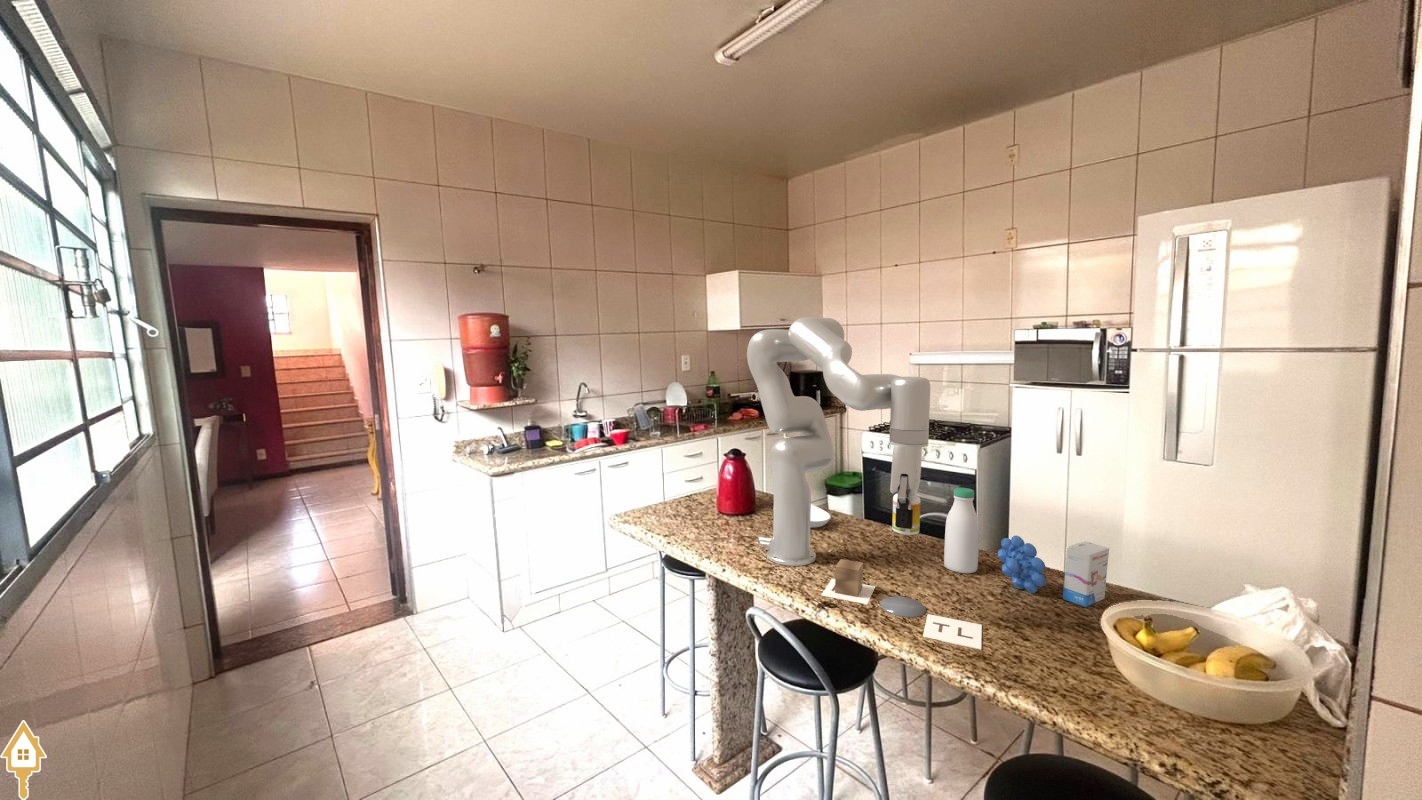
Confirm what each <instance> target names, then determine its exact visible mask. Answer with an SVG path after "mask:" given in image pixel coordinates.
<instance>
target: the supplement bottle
mask: <svg viewBox="0 0 1422 800" xmlns="http://www.w3.org/2000/svg"><path fill="white" fill-rule="evenodd" d="M896 492H897V493H895V494H894V495H893V498H892V524H891V525H892V526H891V527H892V528H891V529H892V531H893V532H894V533H897V534H900V535H906V536H907V535H908V536H909V535H912V536H913V535H917V534H919V533H920V528H921V526H920V525H921V520H920V519H921V498H920V496H918V495H917V494H918V491H917V492H916V494H914V495H913V496H912V507H911V509H913V520H912V528H911V529H906V528H898V527H896V526H895V522H896V507H897V494H898V489H897V491H896ZM907 494H910V491H907ZM906 498H908V500H909V497H906ZM908 502H909V501H908Z"/></svg>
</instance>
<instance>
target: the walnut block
mask: <svg viewBox="0 0 1422 800" xmlns="http://www.w3.org/2000/svg"><path fill="white" fill-rule="evenodd" d="M863 573H864V563H863V562H862V561H861V562H860V561H856V560H849V559H842V558H840V560H839V561H838V562H837V564H836V566H835V574H834V575H835V578H834V579H835V593H839V594H844V595H849V596H854V597H858V596H859V594H860V592H861V590H862V584H863V575H864V574H863Z"/></svg>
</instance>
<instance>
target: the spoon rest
mask: <svg viewBox="0 0 1422 800" xmlns="http://www.w3.org/2000/svg"><path fill="white" fill-rule="evenodd" d="M772 510H773V512H774V506H773V509H772ZM831 518H832V517H831V514H830V513H829V512H827V511H826V510H825V509H822V508H820V507H819V506H817V505H815V504H814V503H811V514H810V529H817V528H820V527H824V526H825V525H826V524H828V523H829V522H830V520H831Z"/></svg>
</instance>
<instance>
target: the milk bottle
mask: <svg viewBox="0 0 1422 800" xmlns="http://www.w3.org/2000/svg"><path fill="white" fill-rule="evenodd" d="M953 498H954V501H953V504H952V505H951V508H950V510H949V512H948V513H947V517H946V521H945V530H944V531H945V533H944V550H943V551H944V552H943V554H944V555H943V565H944V567H945V568H946V569H948V570H949V571H952V572H955V573H958V574H959V573H960V574H972V573H973V574H974V573H976V572H977V571H978V568H979V567H978V566H979V548H980V521H979V520H980V519H979V517H978V514H977V512H976V509H975V507H974V503H973V501H974V499H975V490H974V489H972V488H967V487H956V488H954V489H953Z"/></svg>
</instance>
